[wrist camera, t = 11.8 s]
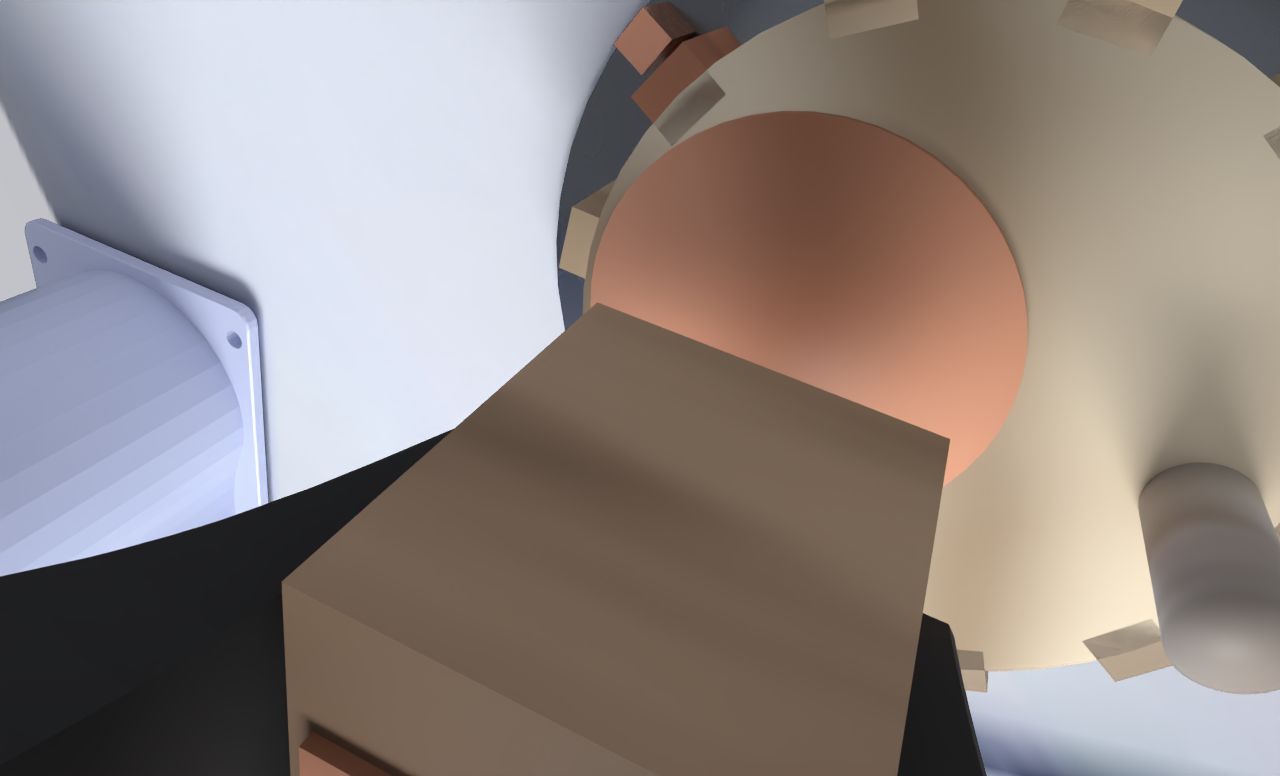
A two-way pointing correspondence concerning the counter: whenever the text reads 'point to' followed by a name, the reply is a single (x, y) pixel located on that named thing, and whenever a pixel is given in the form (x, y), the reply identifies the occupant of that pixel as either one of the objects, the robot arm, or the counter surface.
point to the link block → (625, 579)
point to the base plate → (749, 4)
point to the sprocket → (999, 297)
